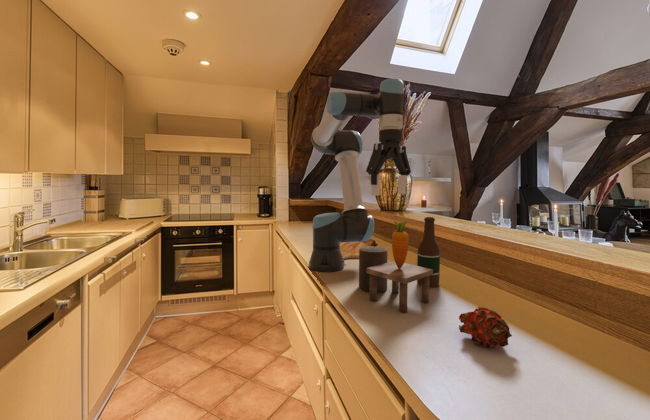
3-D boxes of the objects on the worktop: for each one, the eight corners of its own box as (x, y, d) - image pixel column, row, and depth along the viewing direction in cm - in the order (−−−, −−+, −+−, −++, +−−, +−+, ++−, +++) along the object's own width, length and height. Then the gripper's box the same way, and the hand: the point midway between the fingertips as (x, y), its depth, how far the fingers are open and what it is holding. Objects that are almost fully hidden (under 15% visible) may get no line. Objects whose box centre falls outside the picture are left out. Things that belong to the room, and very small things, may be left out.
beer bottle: (436, 281, 111) (437, 216, 110) (442, 288, 104) (444, 218, 102) (414, 280, 112) (415, 216, 110) (419, 287, 104) (420, 218, 103)
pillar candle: (364, 294, 98) (364, 248, 97) (355, 284, 108) (355, 243, 107) (392, 291, 100) (392, 247, 99) (380, 282, 110) (381, 242, 109)
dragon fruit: (509, 366, 61) (460, 346, 72) (528, 334, 64) (478, 320, 75) (489, 337, 60) (442, 321, 70) (509, 305, 63) (462, 295, 74)
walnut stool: (366, 299, 93) (366, 268, 92) (394, 289, 102) (394, 260, 101) (404, 314, 82) (404, 278, 82) (432, 302, 91) (433, 269, 91)
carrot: (387, 267, 93) (388, 218, 91) (401, 265, 95) (402, 218, 93) (397, 271, 88) (398, 220, 87) (411, 270, 90) (413, 220, 89)
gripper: (373, 123, 88) (372, 196, 91) (422, 132, 104) (420, 193, 106) (355, 127, 94) (354, 195, 96) (404, 134, 110) (402, 193, 112)
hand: (389, 194), depth 101 cm, fingers open, 13 cm apart
